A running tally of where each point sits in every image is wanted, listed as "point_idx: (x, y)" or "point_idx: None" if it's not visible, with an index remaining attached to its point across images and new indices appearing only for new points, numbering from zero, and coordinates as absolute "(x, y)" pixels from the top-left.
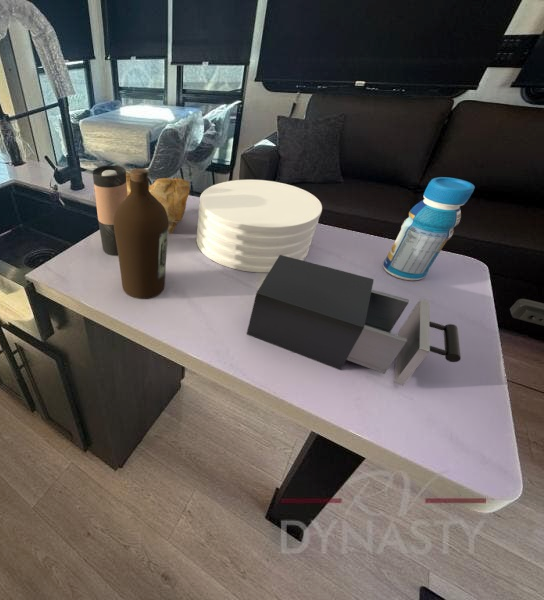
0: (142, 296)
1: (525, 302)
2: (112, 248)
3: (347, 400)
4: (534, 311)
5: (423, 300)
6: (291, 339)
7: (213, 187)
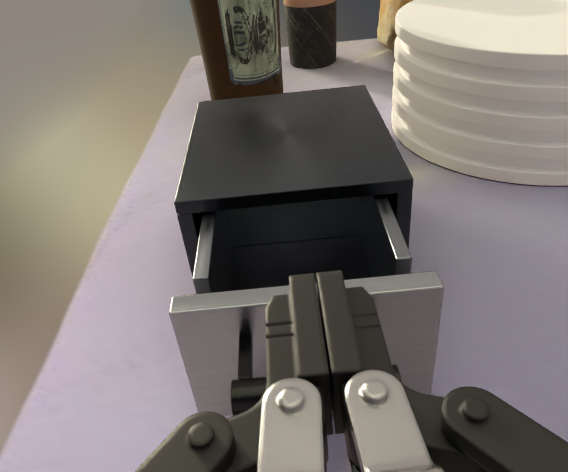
0: None
1: (313, 277)
2: (291, 52)
3: (118, 351)
4: (278, 313)
5: (432, 276)
6: None
7: None
